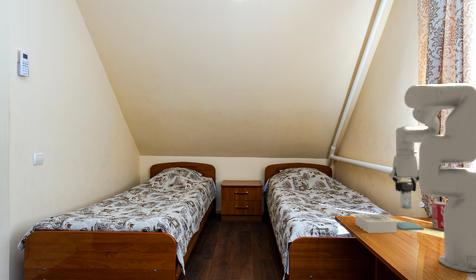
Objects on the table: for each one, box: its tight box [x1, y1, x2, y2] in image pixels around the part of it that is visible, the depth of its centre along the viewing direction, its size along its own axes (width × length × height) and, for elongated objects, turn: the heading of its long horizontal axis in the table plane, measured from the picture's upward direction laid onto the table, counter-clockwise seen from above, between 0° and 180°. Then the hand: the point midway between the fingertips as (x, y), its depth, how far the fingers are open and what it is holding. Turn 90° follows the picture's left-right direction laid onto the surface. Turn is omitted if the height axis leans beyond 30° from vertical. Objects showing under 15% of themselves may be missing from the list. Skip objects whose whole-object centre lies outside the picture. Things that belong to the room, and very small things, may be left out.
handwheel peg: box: [399, 181, 413, 210], centre depth 141 cm, size 6×6×12 cm
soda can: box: [431, 201, 447, 231], centre depth 137 cm, size 7×7×12 cm
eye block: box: [355, 213, 398, 234], centre depth 138 cm, size 13×13×5 cm
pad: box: [397, 221, 425, 231], centre depth 141 cm, size 10×10×1 cm
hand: (405, 190), depth 141 cm, fingers closed on handwheel peg, 6 cm apart
